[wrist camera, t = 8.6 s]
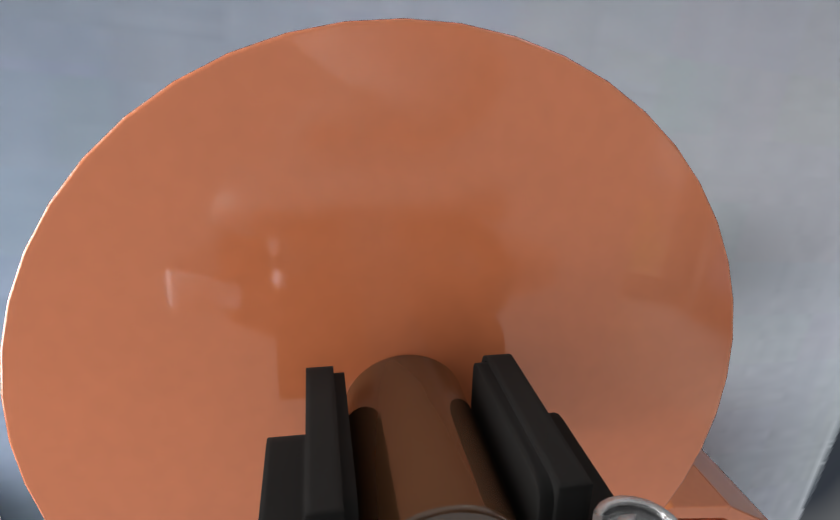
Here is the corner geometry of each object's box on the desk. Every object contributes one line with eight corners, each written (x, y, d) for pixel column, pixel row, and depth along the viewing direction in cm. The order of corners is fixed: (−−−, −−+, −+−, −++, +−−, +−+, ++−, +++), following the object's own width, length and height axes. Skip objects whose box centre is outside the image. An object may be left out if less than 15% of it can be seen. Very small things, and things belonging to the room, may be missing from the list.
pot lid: (-8, -50, 10) (-360, -143, 5) (789, 80, 13) (1107, 108, 8) (49, 638, 15) (-90, 961, 10) (615, 609, 18) (738, 840, 13)
